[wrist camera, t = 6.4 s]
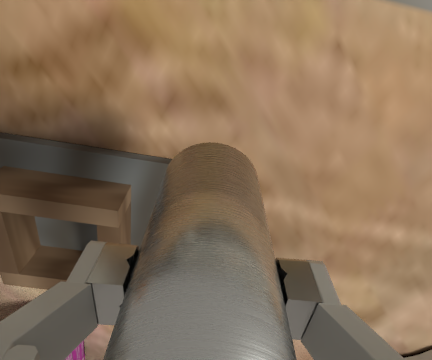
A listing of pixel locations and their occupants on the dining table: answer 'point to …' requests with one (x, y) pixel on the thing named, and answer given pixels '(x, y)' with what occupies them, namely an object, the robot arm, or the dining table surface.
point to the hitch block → (68, 204)
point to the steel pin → (205, 269)
